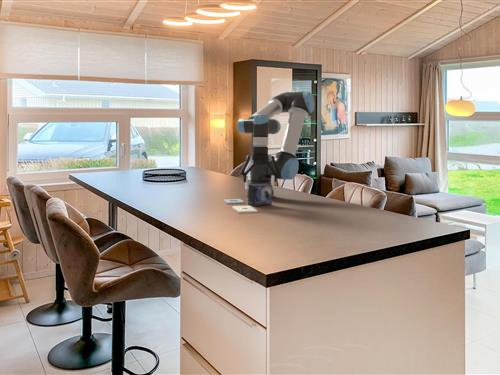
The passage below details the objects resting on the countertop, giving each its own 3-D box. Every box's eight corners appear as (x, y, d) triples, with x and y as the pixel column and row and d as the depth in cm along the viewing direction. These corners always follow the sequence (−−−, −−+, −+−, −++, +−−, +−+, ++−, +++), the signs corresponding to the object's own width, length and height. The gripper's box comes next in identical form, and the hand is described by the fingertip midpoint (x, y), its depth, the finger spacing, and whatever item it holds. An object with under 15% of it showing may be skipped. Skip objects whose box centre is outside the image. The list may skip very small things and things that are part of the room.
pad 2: (249, 207, 232) (249, 205, 232) (257, 212, 219) (257, 210, 219) (231, 207, 230) (231, 206, 230) (238, 213, 216) (238, 211, 216)
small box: (253, 206, 233) (253, 185, 232) (247, 204, 239) (247, 184, 238) (272, 205, 238) (272, 184, 237) (265, 203, 244) (266, 183, 242)
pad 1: (239, 200, 252) (239, 198, 252) (244, 203, 243) (244, 201, 242) (223, 201, 250) (223, 199, 250) (227, 204, 240) (227, 202, 240)
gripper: (282, 145, 241) (281, 187, 244) (234, 145, 235) (233, 188, 237) (287, 146, 234) (285, 189, 237) (237, 146, 228) (237, 190, 230)
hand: (259, 188), depth 237 cm, fingers open, 13 cm apart
